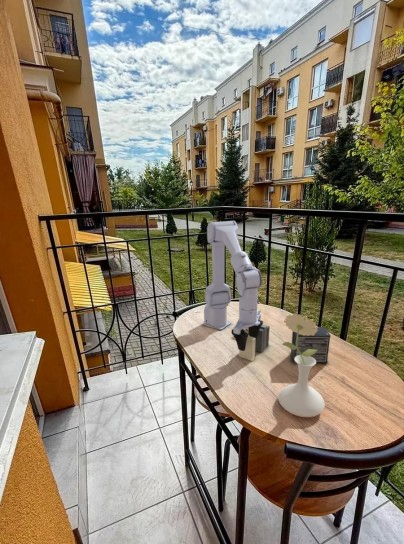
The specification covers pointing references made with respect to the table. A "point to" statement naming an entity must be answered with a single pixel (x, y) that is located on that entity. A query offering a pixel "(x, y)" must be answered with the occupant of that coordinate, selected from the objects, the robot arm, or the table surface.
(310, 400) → the flower in vase
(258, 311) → the cream books
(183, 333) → the table surface
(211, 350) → the table surface
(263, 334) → the grey books
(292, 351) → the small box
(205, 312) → the robot arm
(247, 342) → the cream book
